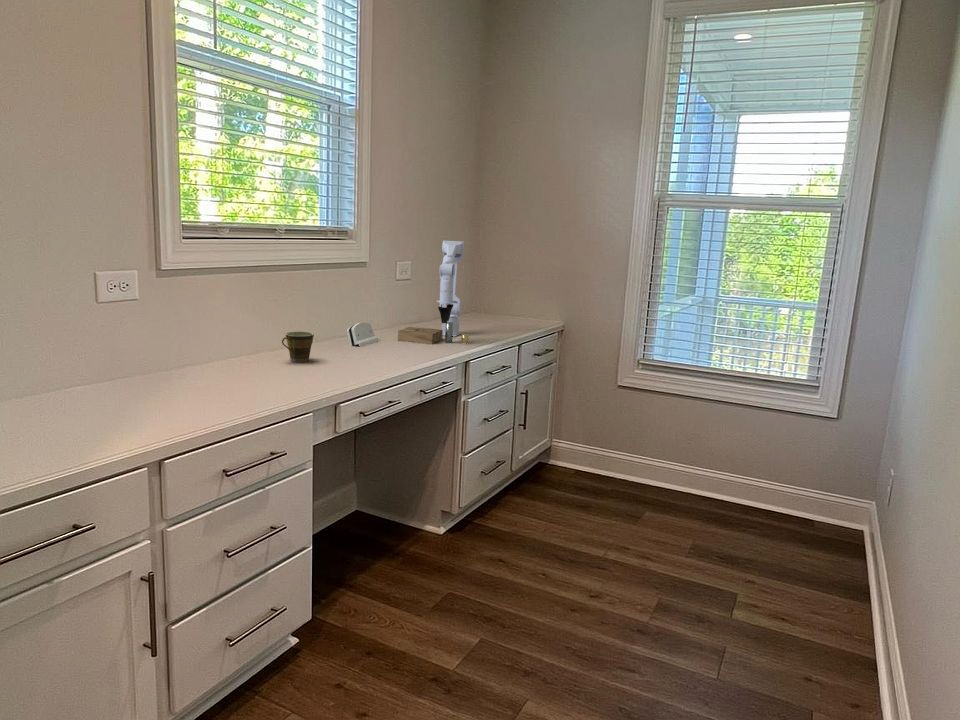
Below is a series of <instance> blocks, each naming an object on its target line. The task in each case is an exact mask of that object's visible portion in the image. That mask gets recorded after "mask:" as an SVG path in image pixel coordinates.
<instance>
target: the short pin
mask: <svg viewBox="0 0 960 720" xmlns="http://www.w3.org/2000/svg"><path fill="white" fill-rule="evenodd" d="M469 339H470V334H468V333H461V343H460V344H462V343H466V344H465V345H468V344H467V343H469V342H470V340H469Z"/></svg>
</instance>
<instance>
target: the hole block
mask: <svg viewBox="0 0 960 720" xmlns="http://www.w3.org/2000/svg"><path fill="white" fill-rule="evenodd" d="M398 340H399V341H398ZM439 340H440V341H442V340H443V330H442V329H438V328H427V327H417V326H408V327H405V328H402V329H399V330H397V341H398V342H404V341H408V342H407V343H414V342H418V343H417V344H424V343H427V344H426V345H434V344H436V343H438V342H440V341H439ZM437 341H438V342H437ZM435 342H436V343H435ZM433 343H434V344H433Z"/></svg>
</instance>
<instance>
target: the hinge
mask: <svg viewBox="0 0 960 720" xmlns="http://www.w3.org/2000/svg"><path fill="white" fill-rule="evenodd" d="M346 334H347V339H348V343H349V347H352V346H356V345H358V346H360V347H359V348H362V347H361V346H363V347H365V346H364V345H366V346H368V345H367V344H369V345H372V344H375V343H374V342H376V343H378V342H377V341H379V337H378V336H376V335H375V332H374V330H373V326H372V324H371V323H369V322H358V323H354V324H351V326H349V327H348V328H347V330H346ZM371 343H372V344H371Z"/></svg>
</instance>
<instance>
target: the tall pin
mask: <svg viewBox="0 0 960 720" xmlns="http://www.w3.org/2000/svg"><path fill="white" fill-rule="evenodd" d="M452 336H453V322H447V323H446V330H445V336H444V343H445V342H446V344H452V343H453V337H452Z"/></svg>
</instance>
